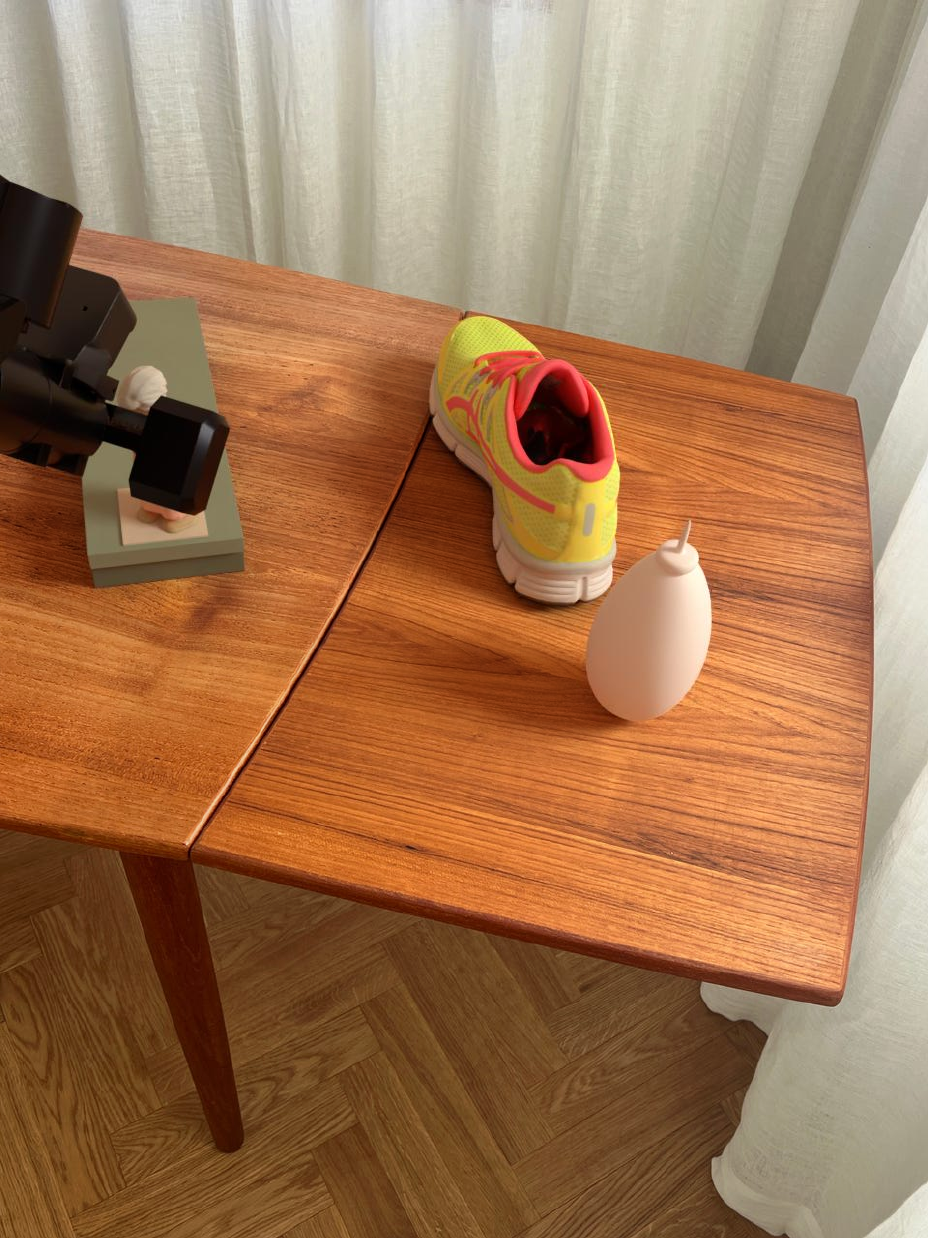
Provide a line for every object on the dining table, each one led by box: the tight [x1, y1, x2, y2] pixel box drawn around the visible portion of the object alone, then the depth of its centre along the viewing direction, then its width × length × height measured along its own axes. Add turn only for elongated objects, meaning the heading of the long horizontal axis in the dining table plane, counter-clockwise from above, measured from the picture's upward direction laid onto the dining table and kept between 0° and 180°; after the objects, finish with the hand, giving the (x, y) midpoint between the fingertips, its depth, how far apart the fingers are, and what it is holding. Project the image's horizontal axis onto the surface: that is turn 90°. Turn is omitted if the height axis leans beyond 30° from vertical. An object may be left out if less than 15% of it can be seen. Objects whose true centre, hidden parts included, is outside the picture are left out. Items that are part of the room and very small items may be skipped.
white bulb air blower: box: [585, 520, 713, 722], centre depth 73 cm, size 8×8×18 cm
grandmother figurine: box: [108, 366, 199, 533], centre depth 77 cm, size 8×4×13 cm, turn 73°
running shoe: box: [428, 315, 621, 606], centre depth 90 cm, size 12×31×14 cm, turn 18°
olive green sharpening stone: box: [81, 296, 246, 589], centre depth 92 cm, size 32×11×4 cm, turn 15°
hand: (133, 443), depth 75 cm, fingers open, 9 cm apart
